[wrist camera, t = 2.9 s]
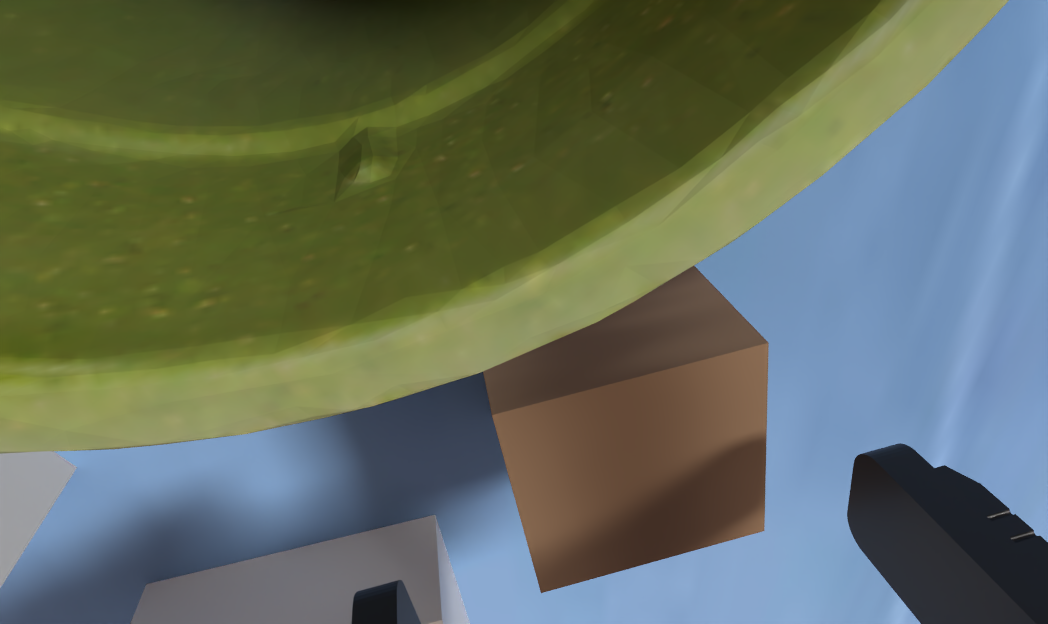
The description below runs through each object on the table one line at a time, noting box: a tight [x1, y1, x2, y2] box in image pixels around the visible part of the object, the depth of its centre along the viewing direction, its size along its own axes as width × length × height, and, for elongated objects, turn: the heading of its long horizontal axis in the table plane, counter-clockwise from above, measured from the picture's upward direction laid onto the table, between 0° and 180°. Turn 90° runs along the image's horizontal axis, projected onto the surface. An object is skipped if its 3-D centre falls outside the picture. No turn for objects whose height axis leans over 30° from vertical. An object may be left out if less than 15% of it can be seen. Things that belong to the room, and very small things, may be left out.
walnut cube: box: [483, 266, 768, 593], centre depth 15 cm, size 5×5×6 cm
